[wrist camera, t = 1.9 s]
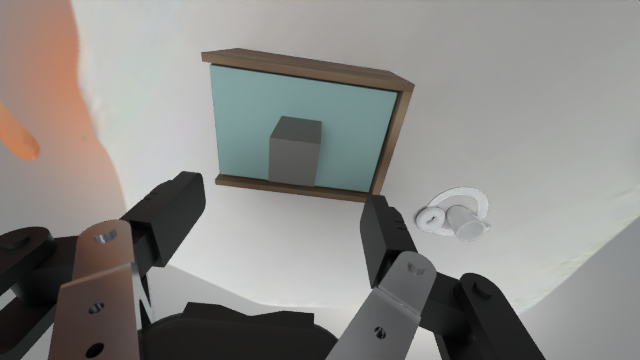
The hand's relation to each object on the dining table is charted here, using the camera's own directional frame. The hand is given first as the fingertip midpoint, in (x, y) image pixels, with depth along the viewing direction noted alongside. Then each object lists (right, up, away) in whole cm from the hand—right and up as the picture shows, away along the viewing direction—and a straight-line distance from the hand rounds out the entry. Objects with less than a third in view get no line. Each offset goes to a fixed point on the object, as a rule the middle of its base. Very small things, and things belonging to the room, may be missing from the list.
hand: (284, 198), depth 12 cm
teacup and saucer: (+17, -1, +18) cm, 25 cm away
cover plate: (0, +5, +8) cm, 9 cm away
